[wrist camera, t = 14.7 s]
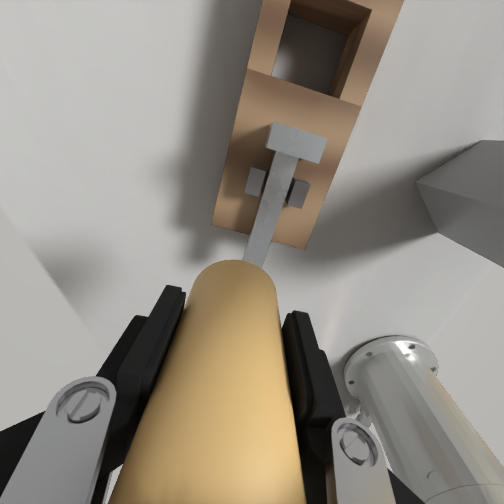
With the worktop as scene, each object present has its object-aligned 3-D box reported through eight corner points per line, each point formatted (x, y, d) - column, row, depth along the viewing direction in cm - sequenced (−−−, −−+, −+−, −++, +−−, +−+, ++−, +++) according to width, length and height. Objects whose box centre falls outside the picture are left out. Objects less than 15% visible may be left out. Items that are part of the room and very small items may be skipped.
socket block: (296, 231, 29) (308, 258, 23) (218, 210, 28) (207, 231, 22) (380, 9, 21) (433, -45, 15) (275, -31, 20) (284, -107, 14)
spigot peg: (264, 336, 13) (288, 768, 4) (186, 322, 13) (33, 761, 4) (286, 270, 12) (401, 738, 3) (198, 251, 11) (-14, 716, 2)
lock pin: (268, 267, 25) (271, 293, 21) (232, 258, 25) (228, 282, 21) (314, 137, 21) (328, 138, 17) (270, 123, 20) (273, 121, 16)
